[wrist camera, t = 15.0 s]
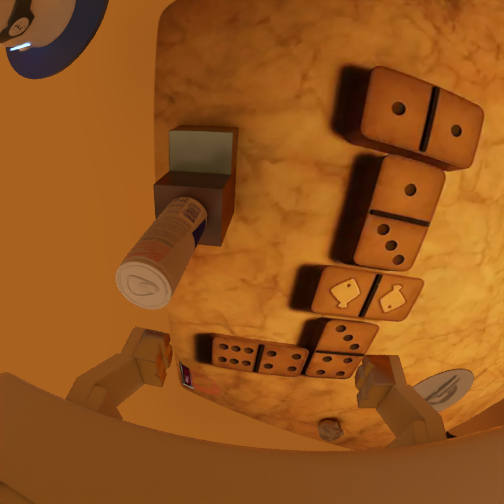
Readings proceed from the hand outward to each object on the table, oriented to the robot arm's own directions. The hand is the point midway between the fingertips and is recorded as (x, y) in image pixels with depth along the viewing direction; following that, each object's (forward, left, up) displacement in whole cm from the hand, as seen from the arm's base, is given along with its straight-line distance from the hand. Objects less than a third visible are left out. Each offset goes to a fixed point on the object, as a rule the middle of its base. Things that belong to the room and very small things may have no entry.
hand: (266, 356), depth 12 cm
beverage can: (-2, -13, -26) cm, 29 cm away
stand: (-4, -11, -37) cm, 39 cm away
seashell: (+77, -30, -37) cm, 91 cm away
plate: (+86, +4, -37) cm, 94 cm away
